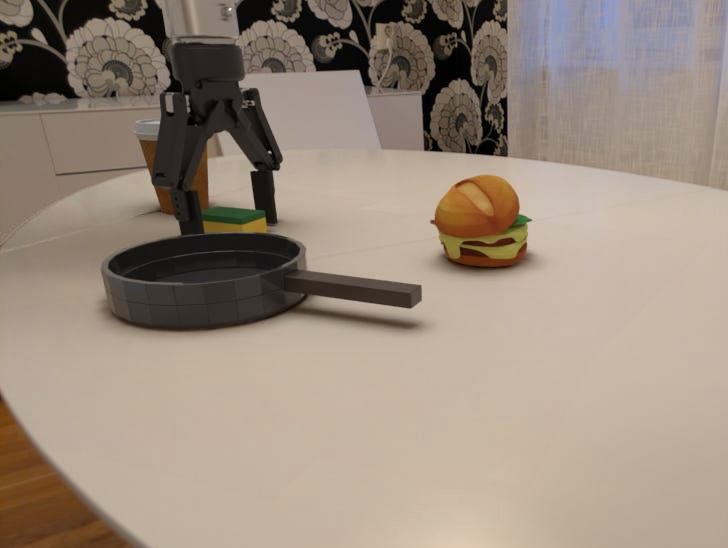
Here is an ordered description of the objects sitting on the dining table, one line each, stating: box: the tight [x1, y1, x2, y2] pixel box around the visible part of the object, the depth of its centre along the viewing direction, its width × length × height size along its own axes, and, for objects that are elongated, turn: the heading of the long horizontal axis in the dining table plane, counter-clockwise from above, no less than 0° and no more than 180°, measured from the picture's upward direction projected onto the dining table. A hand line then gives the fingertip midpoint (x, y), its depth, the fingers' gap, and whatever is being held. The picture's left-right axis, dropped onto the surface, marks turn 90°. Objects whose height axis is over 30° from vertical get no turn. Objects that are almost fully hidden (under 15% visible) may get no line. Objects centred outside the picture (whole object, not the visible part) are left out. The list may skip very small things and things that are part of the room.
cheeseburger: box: [429, 174, 533, 268], centre depth 73 cm, size 10×11×10 cm
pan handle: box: [283, 270, 423, 310], centre depth 57 cm, size 12×2×1 cm, turn 70°
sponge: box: [201, 205, 268, 233], centre depth 82 cm, size 7×4×3 cm, turn 70°
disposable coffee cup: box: [132, 117, 210, 215], centre depth 93 cm, size 10×10×12 cm
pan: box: [99, 232, 310, 331], centre depth 61 cm, size 17×17×4 cm
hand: (233, 234), depth 82 cm, fingers open, 13 cm apart
